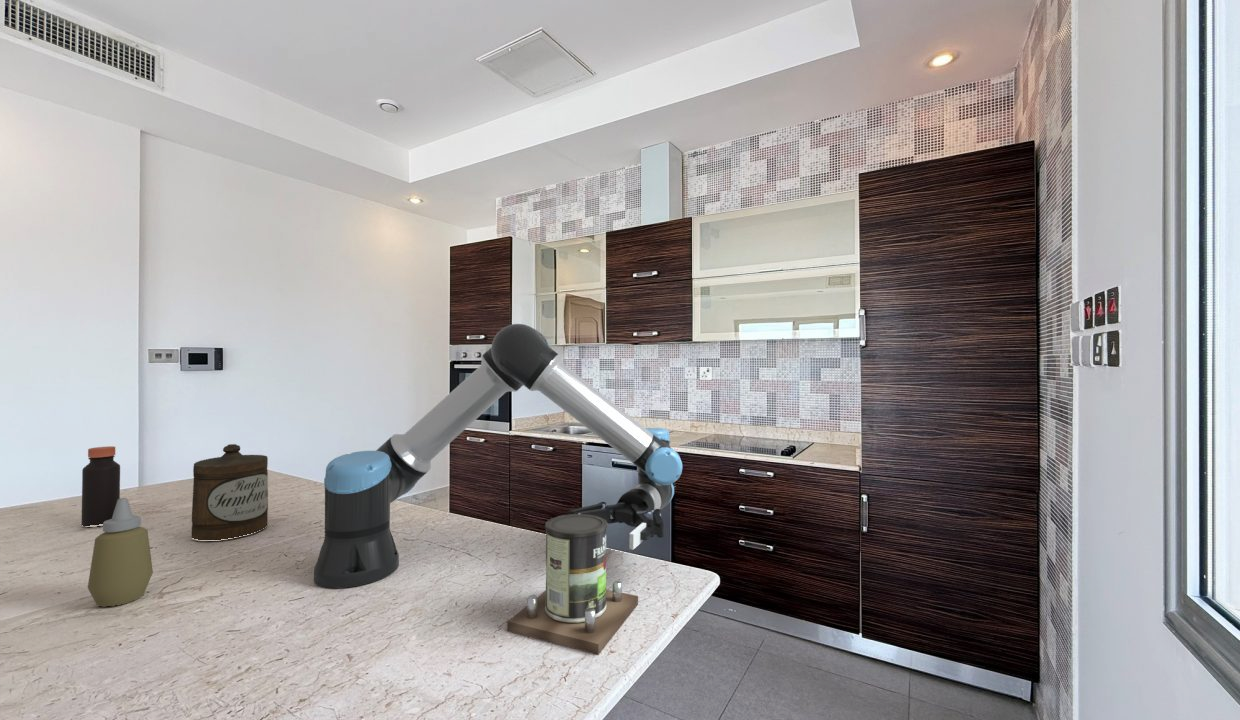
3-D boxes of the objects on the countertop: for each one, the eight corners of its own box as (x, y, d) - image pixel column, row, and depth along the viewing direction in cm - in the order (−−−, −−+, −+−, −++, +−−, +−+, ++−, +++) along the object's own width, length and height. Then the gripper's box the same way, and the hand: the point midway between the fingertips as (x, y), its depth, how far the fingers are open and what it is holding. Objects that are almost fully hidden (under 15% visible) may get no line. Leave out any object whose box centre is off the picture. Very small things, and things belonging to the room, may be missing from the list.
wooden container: (218, 546, 112) (219, 450, 112) (176, 538, 116) (177, 447, 117) (281, 526, 126) (282, 441, 126) (241, 520, 131) (243, 438, 131)
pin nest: (507, 630, 76) (507, 602, 76) (558, 587, 91) (558, 563, 91) (598, 654, 70) (598, 623, 70) (638, 604, 85) (638, 578, 85)
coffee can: (612, 596, 85) (612, 515, 85) (598, 627, 75) (598, 535, 75) (556, 590, 87) (557, 511, 87) (535, 619, 77) (535, 530, 77)
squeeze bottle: (163, 593, 88) (164, 495, 89) (104, 615, 81) (105, 507, 81) (136, 587, 91) (137, 491, 91) (76, 607, 83) (77, 502, 84)
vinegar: (73, 527, 124) (75, 449, 124) (105, 519, 131) (107, 445, 131) (95, 529, 123) (96, 450, 123) (126, 520, 130) (127, 446, 130)
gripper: (694, 529, 102) (662, 568, 82) (588, 515, 111) (537, 546, 92) (694, 494, 102) (662, 524, 82) (588, 482, 112) (537, 507, 92)
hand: (596, 536), depth 87 cm, fingers open, 13 cm apart
